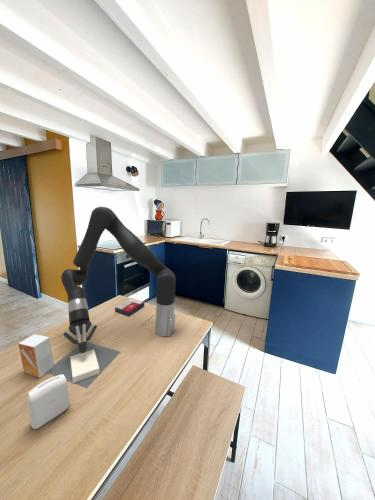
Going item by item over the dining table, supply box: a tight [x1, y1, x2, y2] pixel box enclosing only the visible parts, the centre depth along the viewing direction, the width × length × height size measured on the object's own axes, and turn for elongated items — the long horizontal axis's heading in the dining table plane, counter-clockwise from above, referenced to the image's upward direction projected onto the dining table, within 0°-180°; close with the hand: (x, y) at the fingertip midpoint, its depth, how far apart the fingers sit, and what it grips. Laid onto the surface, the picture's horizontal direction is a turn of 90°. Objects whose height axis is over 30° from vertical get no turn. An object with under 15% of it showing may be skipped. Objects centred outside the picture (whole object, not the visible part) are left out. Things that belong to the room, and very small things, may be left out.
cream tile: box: [70, 350, 99, 384], centre depth 83 cm, size 2×9×12 cm
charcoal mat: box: [45, 341, 121, 389], centre depth 86 cm, size 20×20×1 cm
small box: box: [17, 333, 55, 379], centre depth 79 cm, size 8×6×13 cm
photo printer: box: [26, 374, 70, 430], centre depth 63 cm, size 10×4×12 cm, turn 140°
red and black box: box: [114, 297, 145, 318], centre depth 131 cm, size 11×4×15 cm
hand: (83, 352), depth 83 cm, fingers closed
